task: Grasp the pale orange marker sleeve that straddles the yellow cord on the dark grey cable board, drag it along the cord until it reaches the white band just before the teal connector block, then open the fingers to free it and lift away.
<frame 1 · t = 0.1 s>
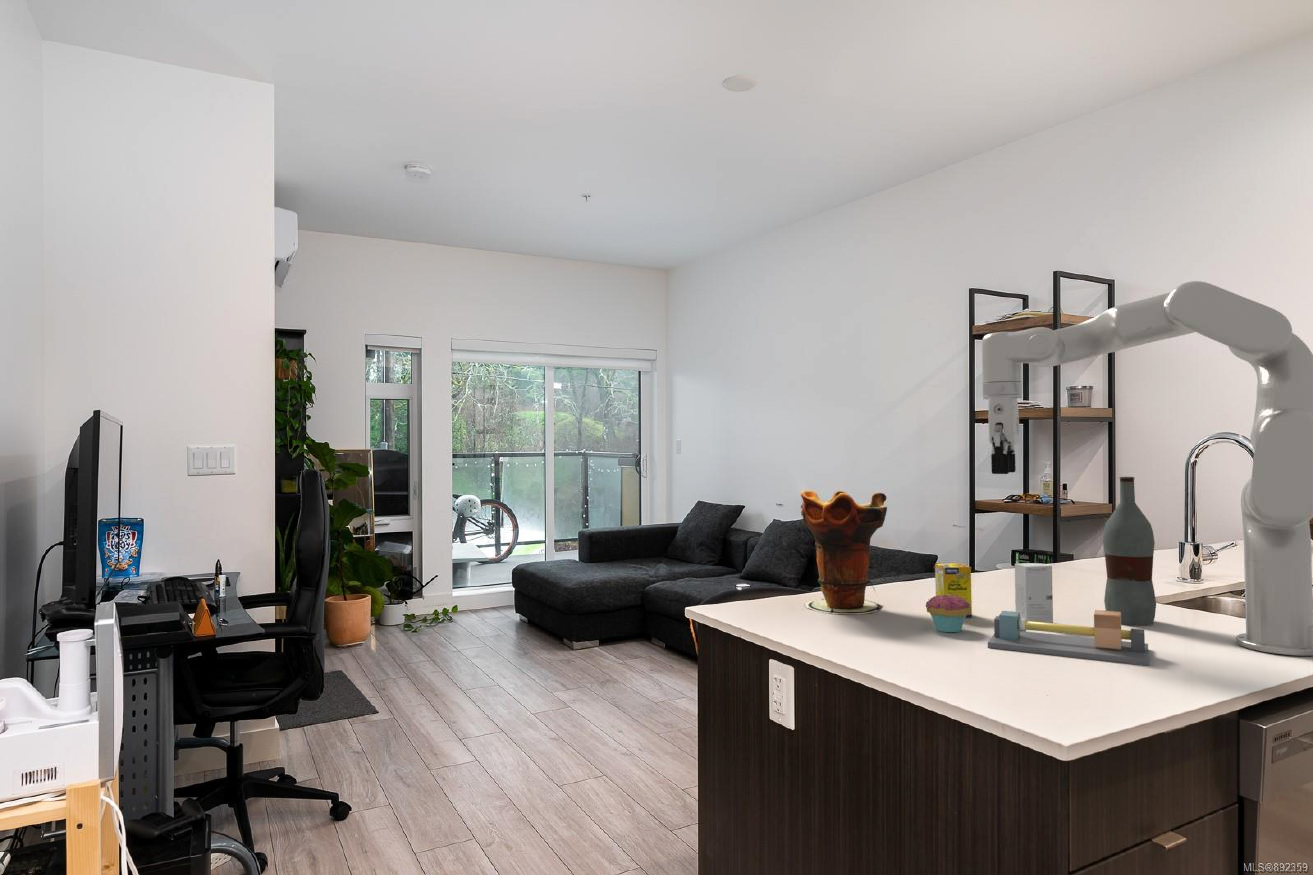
hand: (1003, 473, 164), 31 cm above the worktop, tool pointing down, fingers open, 9 cm apart
decorative vase: (843, 607, 182), on the worktop
bottle: (1130, 622, 163), on the worktop
cable board: (1067, 648, 142), on the worktop
cupcake: (949, 631, 158), on the worktop
skincare box: (1034, 623, 163), on the worktop
marker sleeve: (1107, 629, 139), point 4 cm above the worktop, slide at 0.0 cm
supplement box: (953, 616, 172), on the worktop
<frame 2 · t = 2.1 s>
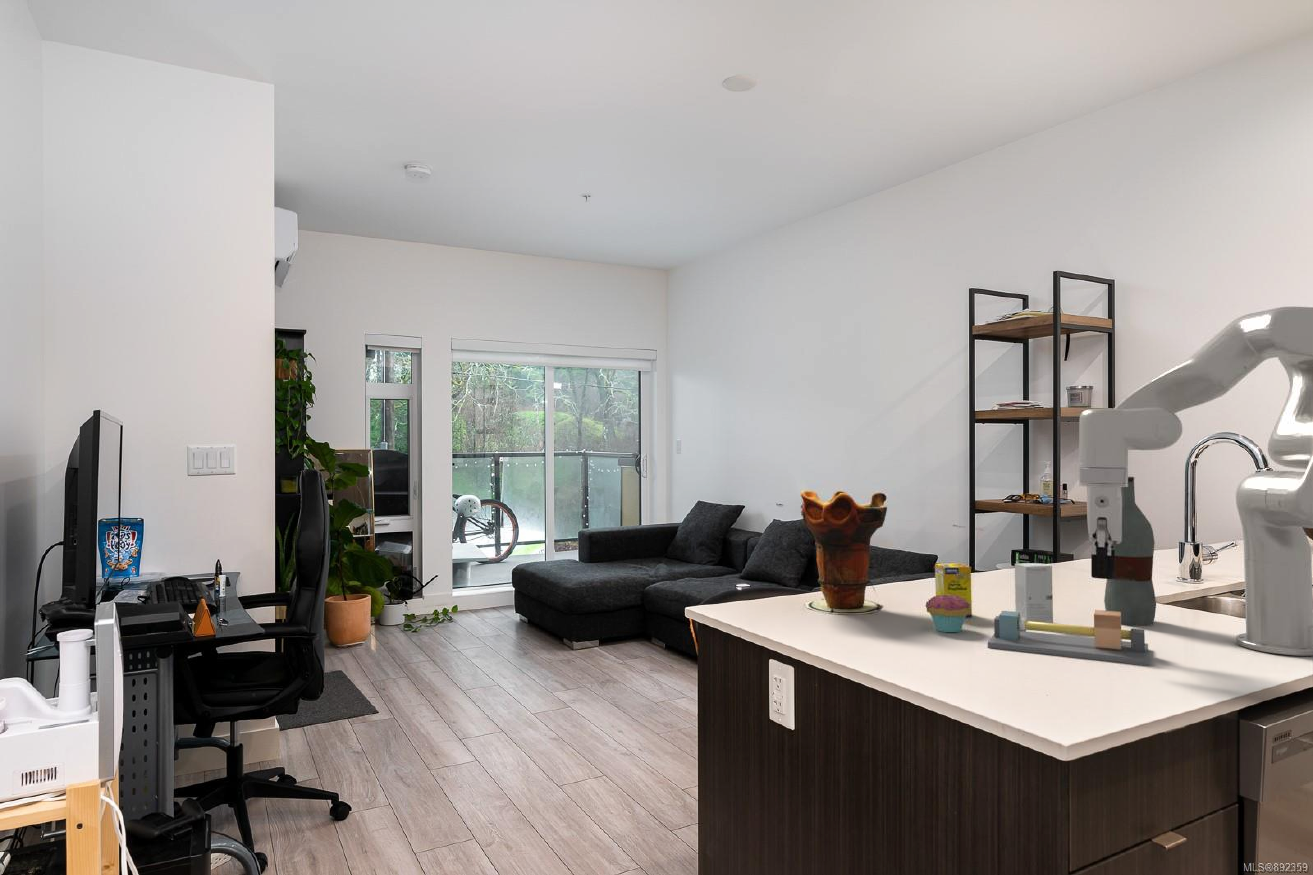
hand: (1103, 574, 139), 14 cm above the worktop, tool pointing down, fingers open, 9 cm apart
nothing on the worktop moved.
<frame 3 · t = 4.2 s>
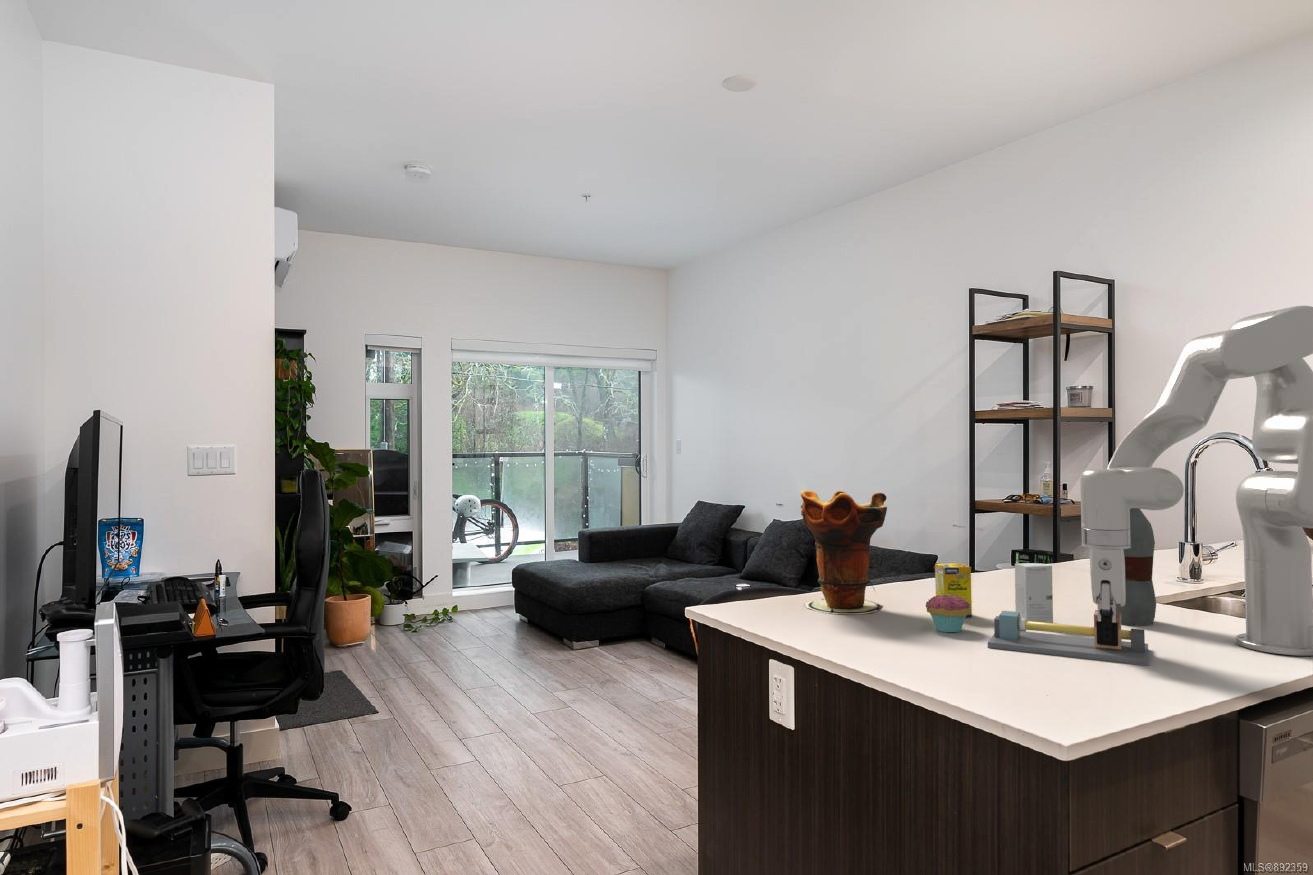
hand: (1108, 640, 139), 2 cm above the worktop, tool pointing down, fingers closed on marker sleeve, 4 cm apart
marker sleeve: (1107, 629, 139), point 4 cm above the worktop, slide at 0.0 cm, touching gripper
everything else where it was.
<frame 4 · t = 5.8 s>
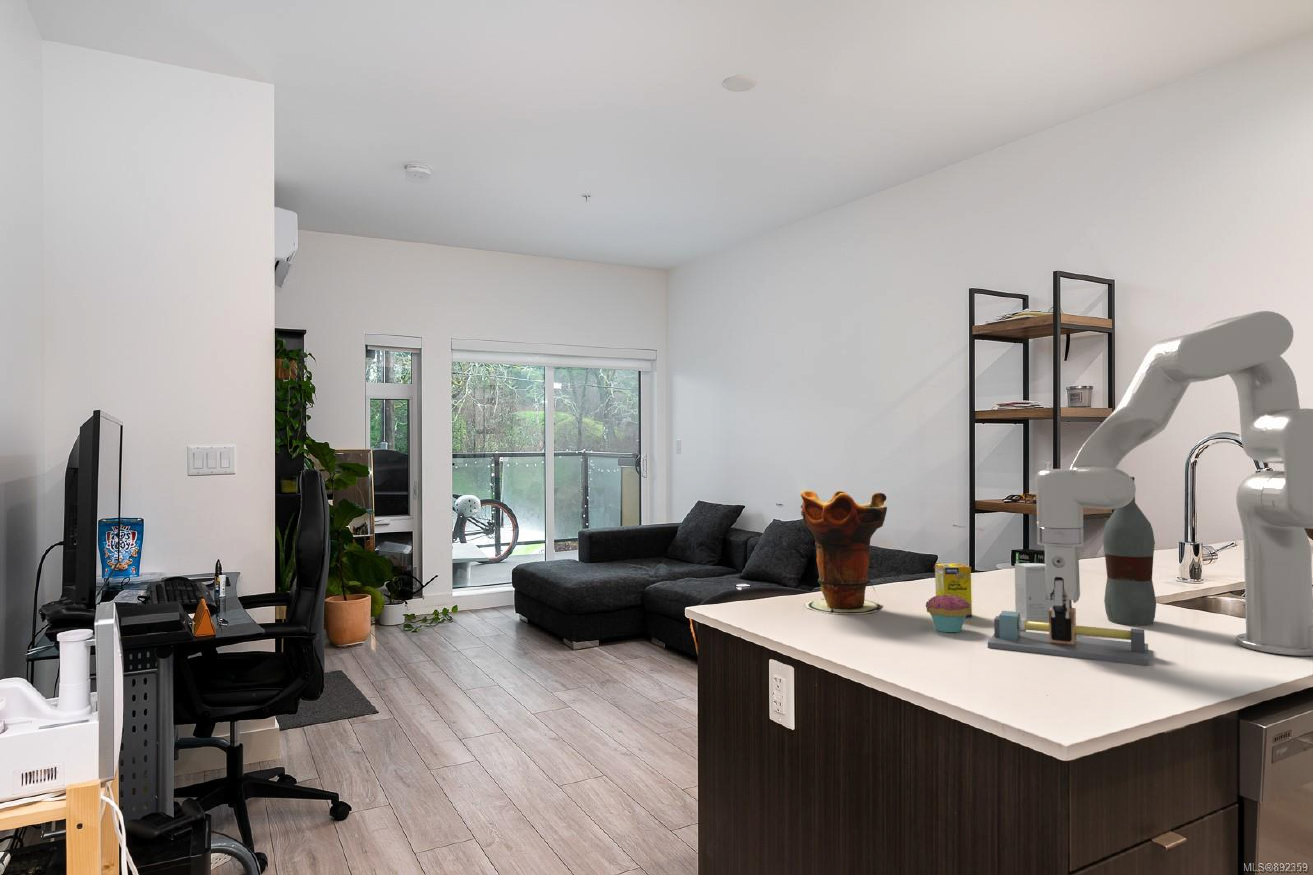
hand: (1062, 636, 143), 2 cm above the worktop, tool pointing down, fingers closed on marker sleeve, 4 cm apart
marker sleeve: (1062, 624, 143), point 4 cm above the worktop, slide at 7.2 cm, touching gripper
everything else where it was.
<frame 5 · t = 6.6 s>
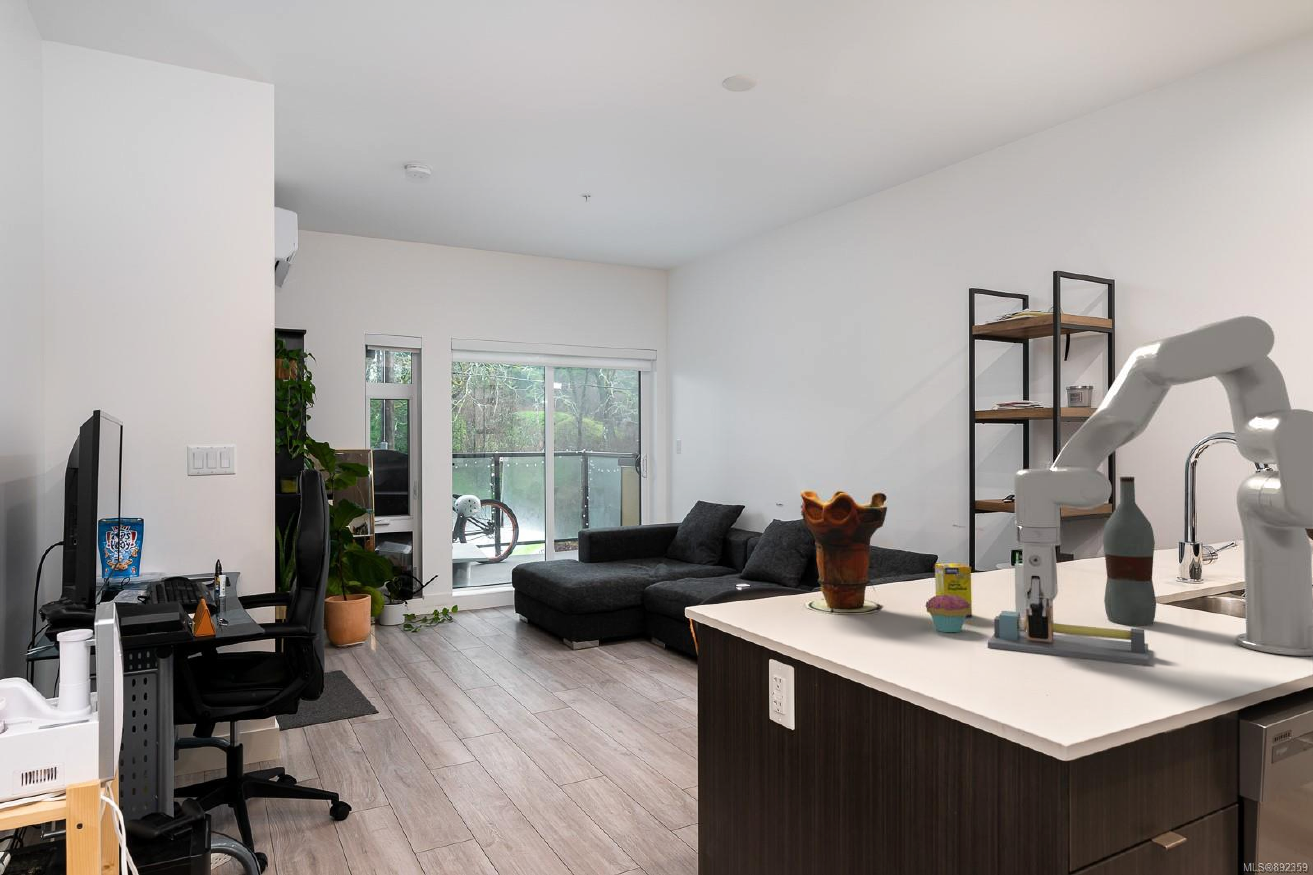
hand: (1040, 633, 145), 2 cm above the worktop, tool pointing down, fingers closed on marker sleeve, 4 cm apart
marker sleeve: (1039, 622, 145), point 4 cm above the worktop, slide at 10.9 cm, touching gripper
everything else where it was.
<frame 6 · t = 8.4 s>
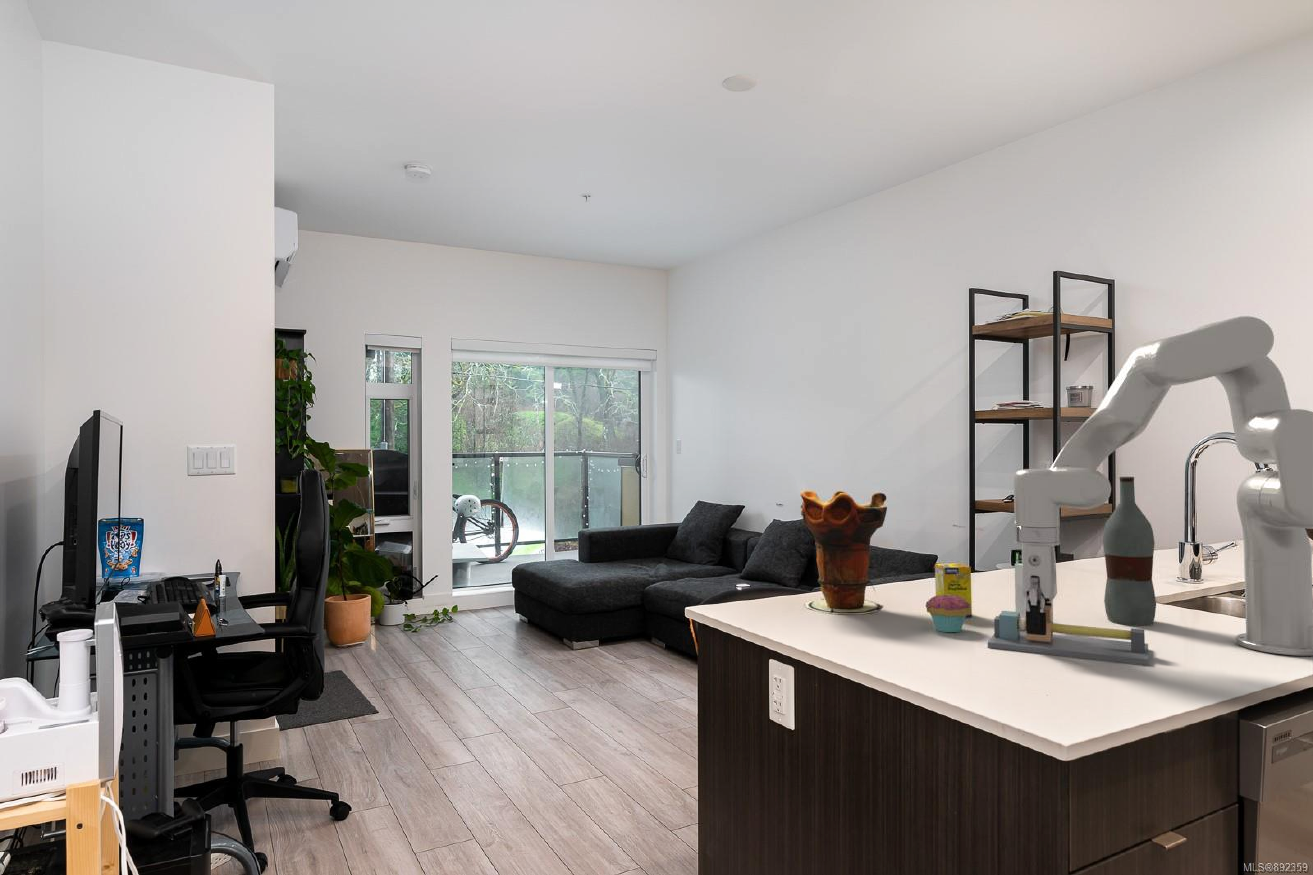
hand: (1039, 628, 145), 3 cm above the worktop, tool pointing down, fingers open, 9 cm apart
marker sleeve: (1039, 622, 145), point 4 cm above the worktop, slide at 11.0 cm
everything else where it was.
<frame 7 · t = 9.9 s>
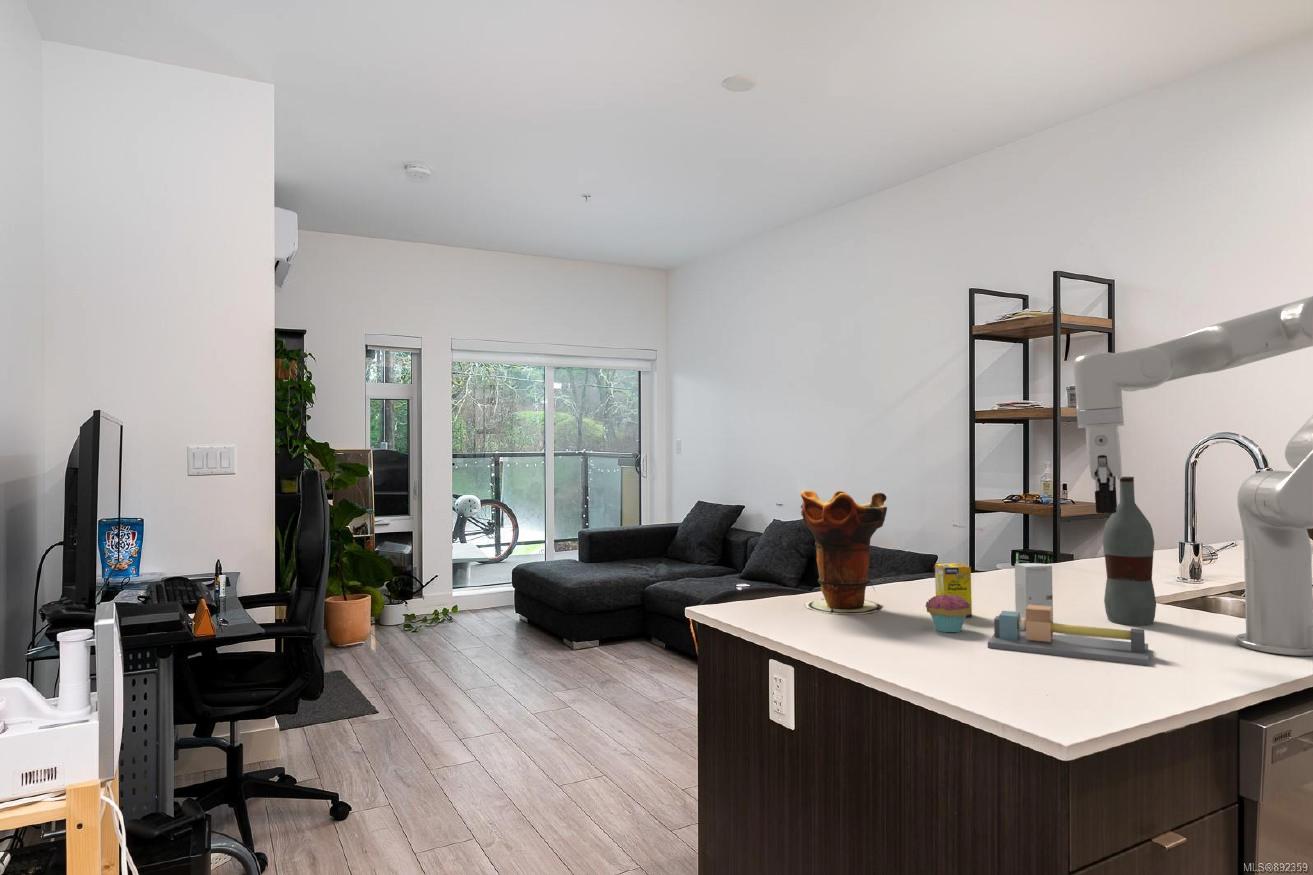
hand: (1106, 510, 147), 25 cm above the worktop, tool pointing down, fingers open, 9 cm apart
nothing on the worktop moved.
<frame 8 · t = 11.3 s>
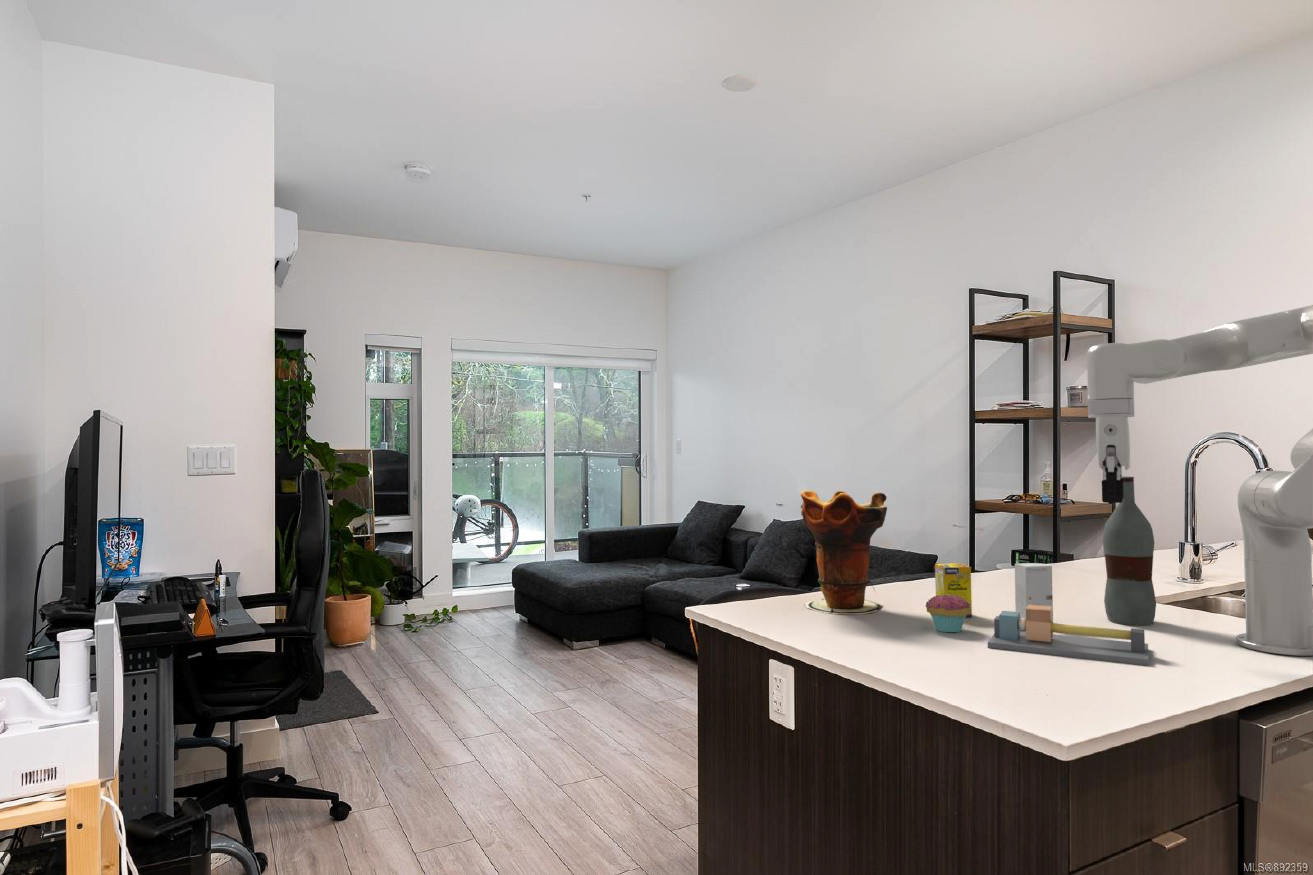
hand: (1113, 500, 147), 26 cm above the worktop, tool pointing down, fingers open, 9 cm apart
nothing on the worktop moved.
at the end: marker sleeve slide at 11.0 cm; the gripper is holding nothing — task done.
